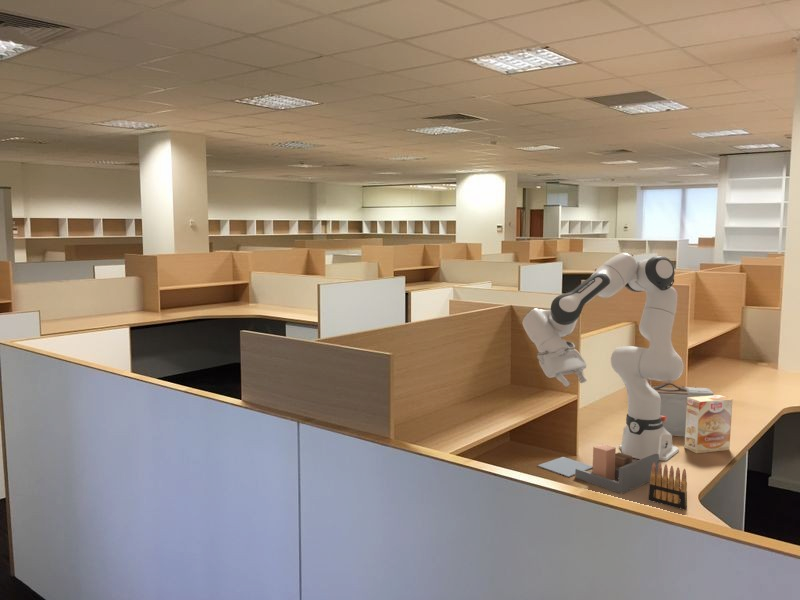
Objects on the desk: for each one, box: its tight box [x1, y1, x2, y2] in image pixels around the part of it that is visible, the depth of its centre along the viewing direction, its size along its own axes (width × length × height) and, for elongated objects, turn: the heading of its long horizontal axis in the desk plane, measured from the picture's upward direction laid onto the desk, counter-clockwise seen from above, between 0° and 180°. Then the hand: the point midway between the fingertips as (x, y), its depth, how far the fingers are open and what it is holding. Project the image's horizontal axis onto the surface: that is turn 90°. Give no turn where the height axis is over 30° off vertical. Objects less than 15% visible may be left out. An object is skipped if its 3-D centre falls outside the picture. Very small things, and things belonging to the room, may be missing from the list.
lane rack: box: [574, 454, 660, 495], centre depth 216 cm, size 21×17×8 cm
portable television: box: [649, 379, 714, 437], centre depth 265 cm, size 12×24×30 cm, turn 78°
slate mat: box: [537, 456, 593, 478], centre depth 227 cm, size 14×13×1 cm
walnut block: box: [615, 452, 633, 469], centre depth 221 cm, size 5×5×6 cm
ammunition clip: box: [647, 462, 688, 511], centre depth 196 cm, size 11×2×12 cm, turn 50°
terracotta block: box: [592, 443, 617, 481], centre depth 214 cm, size 5×5×11 cm
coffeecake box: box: [684, 394, 734, 454], centre depth 245 cm, size 15×7×20 cm, turn 106°
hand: (576, 383), depth 220 cm, fingers open, 8 cm apart
